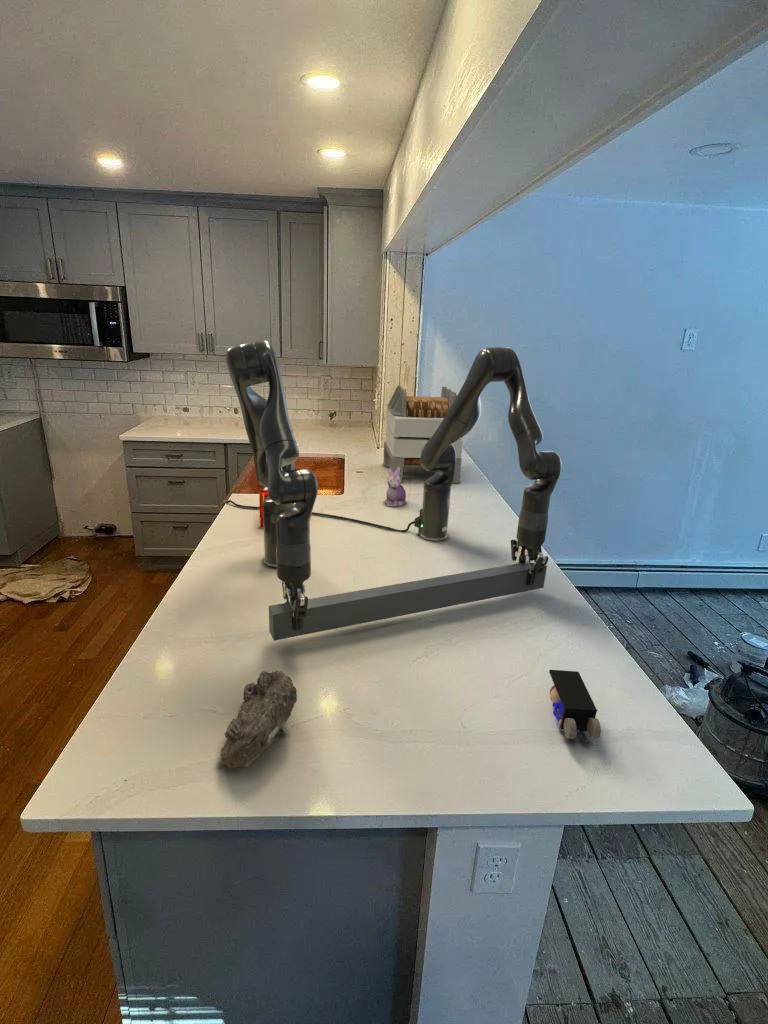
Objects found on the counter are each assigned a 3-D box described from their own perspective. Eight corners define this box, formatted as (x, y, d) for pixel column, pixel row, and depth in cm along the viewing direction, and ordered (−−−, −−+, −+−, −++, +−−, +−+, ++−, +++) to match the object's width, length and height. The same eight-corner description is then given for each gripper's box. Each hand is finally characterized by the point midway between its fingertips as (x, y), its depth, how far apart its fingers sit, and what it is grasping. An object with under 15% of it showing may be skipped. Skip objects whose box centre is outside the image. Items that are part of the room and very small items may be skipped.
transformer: (382, 463, 289) (386, 382, 275) (445, 464, 293) (451, 384, 279) (390, 482, 257) (394, 392, 243) (460, 483, 261) (468, 394, 247)
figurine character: (598, 755, 105) (572, 695, 118) (607, 725, 101) (580, 667, 115) (562, 754, 104) (541, 694, 118) (570, 724, 101) (547, 666, 114)
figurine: (390, 508, 224) (392, 471, 219) (379, 500, 233) (380, 465, 228) (411, 505, 229) (413, 469, 223) (399, 498, 237) (401, 463, 232)
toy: (299, 478, 224) (289, 491, 195) (299, 512, 227) (289, 529, 198) (268, 478, 224) (253, 490, 194) (268, 511, 226) (254, 528, 197)
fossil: (239, 671, 114) (294, 639, 110) (270, 702, 117) (325, 672, 112) (196, 762, 95) (261, 727, 90) (236, 796, 98) (300, 764, 93)
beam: (534, 581, 163) (537, 560, 161) (543, 588, 160) (547, 566, 157) (269, 631, 132) (268, 605, 130) (273, 640, 128) (273, 614, 126)
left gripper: (269, 547, 130) (271, 612, 136) (285, 573, 118) (287, 643, 124) (300, 542, 133) (301, 606, 139) (320, 568, 121) (319, 637, 127)
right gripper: (505, 516, 157) (498, 572, 163) (538, 535, 145) (529, 595, 151) (527, 513, 160) (519, 568, 166) (561, 532, 148) (551, 590, 154)
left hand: (294, 623), depth 132 cm, fingers closed on beam, 4 cm apart
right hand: (524, 580), depth 158 cm, fingers closed on beam, 4 cm apart
